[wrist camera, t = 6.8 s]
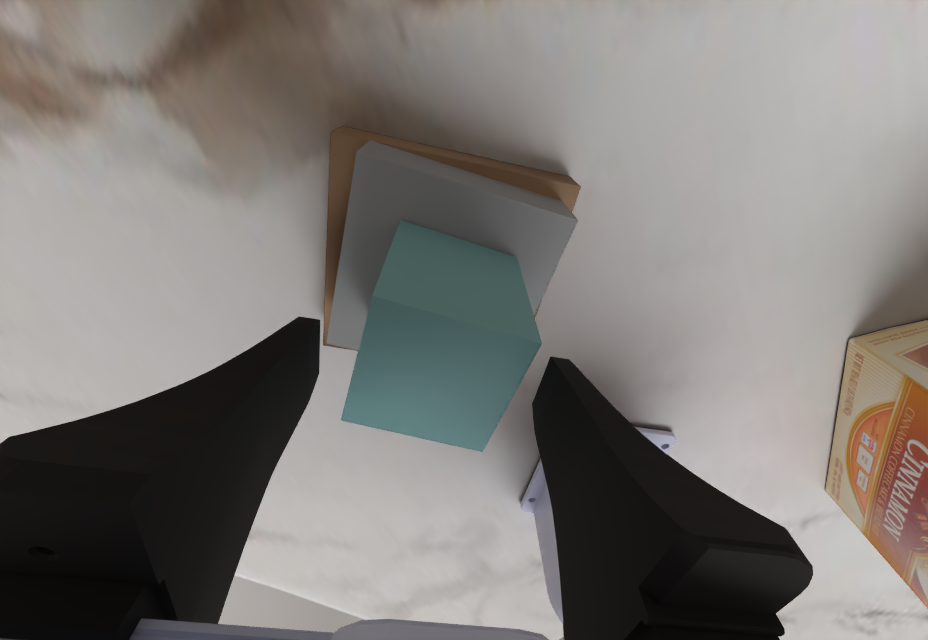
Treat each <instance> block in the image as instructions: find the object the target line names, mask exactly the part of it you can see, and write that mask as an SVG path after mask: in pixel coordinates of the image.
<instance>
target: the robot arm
mask: <svg viewBox="0 0 928 640" xmlns="http://www.w3.org/2000/svg"><path fill="white" fill-rule="evenodd" d="M319 351H320V320H318V319H311V318H305V317H298V318H296V319H295V320H293V321H292V322H290V323H289V324H287V325H286V326H284V327H282V328H281V329H279V330H278V331H276V332H275V333H273V334H272V335H270V336H269V337H267V338H266V339H264V340H263V341H261V342H260V343H258V344H256V345H255V346H253V347H252V348H250V349H248V350H247V351H245V352H243V353H241V354H240V355H238V356H236V357H234V358H233V359H231V360H229V361H227V362H226V363H224V364H222V365H220V366H218V367H216V368H215V369H213V370H211V371H209V372H207V373H205V374H203V375H200V376H198V377H196V378H194V379H192V380H189V381H187V382H185V383H183V384H180V385H178V386H176V387H173V388H171V389H168V390H165V391H163V392H160V393H158V394H155V395H152V396H150V397H147V398H145V399H142V400H140V401H137V402H134V403H131V404H128V405H125V406H122V407H119V408H116V409H113V410H110V411H106V412H103V413H100V414H97V415H93V416H90V417H87V418H83V419H79V420H76V421H72V422H68V423H64V424H60V425H56V426H52V427H48V428H44V429H40V430H37V431H33V432H29V433H25V434H20V435H16V436H11V437H8V438H7V439H6V440H5V441H3V442H2V443H1V444H0V640H549V639H547V638H546V637H545V636H544V635H542V634H538V633H533V632H529V631H524V630H520V629H509V628H496V627H484V626H471V625H459V624H446V623H434V622H421V621H409V620H396V619H378V620H361V621H358V622H355V623H352V624H349V625H347V626H344V627H341V628H339V629H338V630H337V631H336V632H334V633H331V632H317V631H303V630H290V629H277V628H262V627H250V626H237V625H223V624H218V621H219V619H220V616H221V613H222V609H223V607H224V603H225V601H226V598H227V595H228V591H229V588H230V586H231V583H232V580H233V577H234V574H235V571H236V569H237V566H238V563H239V560H240V557H241V554H242V552H243V549H244V546H245V543H246V541H247V538H248V535H249V532H250V530H251V527H252V524H253V522H254V519H255V516H256V514H257V511H258V508H259V506H260V503H261V501H262V498H263V496H264V493H265V490H266V488H267V485H268V483H269V480H270V478H271V476H272V473H273V471H274V469H275V467H276V465H277V463H278V461H279V459H280V457H281V455H282V453H283V451H284V449H285V447H286V445H287V443H288V442H289V440H290V438H291V436H292V434H293V432H294V430H295V428H296V426H297V424H298V422H299V420H300V418H301V416H302V414H303V412H304V410H305V408H306V406H307V404H308V402H309V400H310V397H311V395H312V392H313V389H314V386H315V383H316V380H317V378H318V375H319ZM532 407H533V420H534V429H535V436H536V440H537V445H538V449H539V453H540V458H541V459H540V461H539V463H538V466H537V468H536V470H535V472H534V475H533V477H532V479H531V481H530V484H529V486H528V488H527V490H526V493H525V495H524V497H523V499H522V502H521V509H522V511H524V512H530V513H534V516H535V522H536V528H537V534H538V540H539V546H540V551H541V557H542V563H543V569H544V575H545V581H546V586H547V592H548V596H549V599H550V602H551V604H552V607H553V609H554V611H555V613H556V614H557V616H558V617H559V619H560V621H561V622H562V623H563V630H564V637H563V638H561V639H559V640H780V639H779V638H778V636H782V635H784V634H785V631H784V627H783V626H782V624H781V622H780V621H779V619H778V617H777V615H776V613H777V612H778V611H779V610H781V609H782V608H783V607H784V606H786V605H787V604H788V603H789V602H791V601H792V600H793V599H794V598H796V597H797V596H798V595H799V594H801V593H802V592H803V591H804V590H805V589H806V588H807V587H808V585H809V583H810V581H811V579H812V576H813V568H812V565H811V564H810V562H809V561H808V559H807V558H806V556H805V555H804V554H803V552H802V551H801V549H800V548H799V547H798V545H797V544H796V542H795V541H794V539H793V538H792V537H791V535H790V534H789V532H788V531H787V530H786V529H785V528H784V527H782V526H780V525H779V524H777V523H775V522H773V521H771V520H770V519H768V518H766V517H764V516H762V515H760V514H759V513H757V512H755V511H753V510H751V509H749V508H748V507H746V506H744V505H742V504H740V503H739V502H737V501H735V500H734V499H732V498H731V497H729V496H727V495H726V494H724V493H722V492H721V491H719V490H718V489H716V488H714V487H713V486H711V485H710V484H708V483H707V482H705V481H704V480H702V479H701V478H699V477H698V476H696V475H695V474H693V473H692V472H690V471H689V470H688V469H686V468H685V467H684V466H682V465H681V464H679V463H678V462H677V461H675V460H674V459H672V458H671V457H670V456H669V455H667V454H668V452H669V451H670V449H671V448H672V446H673V445H674V443H675V442H676V437H675V435H674V434H673V433H672V432H668V431H661V430H654V429H647V428H639V427H634V426H633V425H632V424H631V423H630V422H629V421H628V420H627V419H626V418H625V417H623V416H622V415H621V414H620V413H619V412H618V411H617V410H616V409H615V408H614V407H613V406H612V405H611V404H610V403H609V402H608V400H607V399H606V398H605V397H604V396H603V395H602V394H601V393H600V392H599V391H598V390H597V389H596V388H595V387H594V386H593V384H592V383H591V382H590V381H589V380H588V379H587V378H586V377H585V376H584V375H583V374H582V372H581V371H580V370H579V369H578V368H577V367H576V366H575V365H574V364H573V363H572V362H571V361H570V360H569V359H562V358H556V357H550V359H549V362H548V365H547V367H546V370H545V372H544V375H543V377H542V380H541V383H540V385H539V388H538V390H537V393H536V396H535V398H534V401H533V403H532Z"/></svg>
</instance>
